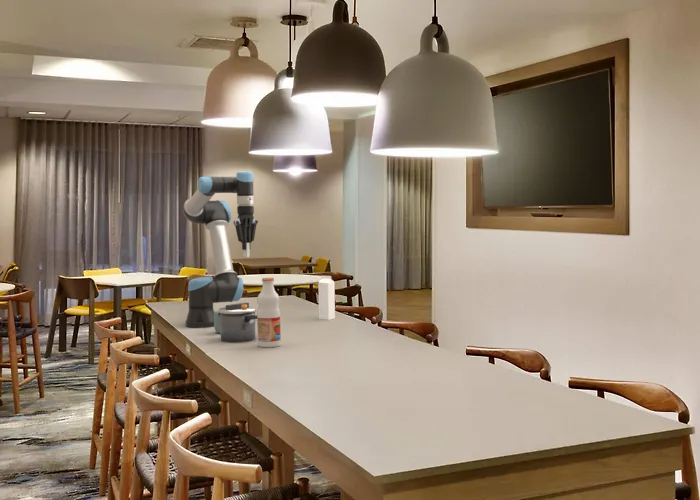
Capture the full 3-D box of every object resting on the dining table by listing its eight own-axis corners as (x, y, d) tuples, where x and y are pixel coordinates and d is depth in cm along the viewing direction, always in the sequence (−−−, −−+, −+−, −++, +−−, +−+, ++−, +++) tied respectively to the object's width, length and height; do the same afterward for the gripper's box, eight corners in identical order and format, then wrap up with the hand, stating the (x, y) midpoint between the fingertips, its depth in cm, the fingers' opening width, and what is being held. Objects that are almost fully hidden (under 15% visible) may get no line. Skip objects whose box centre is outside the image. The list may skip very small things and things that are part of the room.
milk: (325, 318, 393) (324, 275, 392) (335, 318, 390) (334, 275, 389) (318, 319, 388) (318, 276, 387) (328, 320, 385) (328, 276, 384)
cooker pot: (236, 334, 345) (235, 308, 344) (266, 339, 331) (266, 311, 331) (209, 339, 333) (208, 311, 333) (240, 344, 320) (239, 315, 319)
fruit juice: (257, 344, 320) (256, 277, 319) (280, 343, 322) (278, 276, 320) (257, 348, 311) (256, 279, 309) (281, 347, 312) (279, 278, 311)
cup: (227, 334, 346) (227, 312, 345) (211, 334, 347) (211, 312, 347) (233, 331, 353) (233, 310, 353) (217, 331, 355) (217, 309, 354)
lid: (239, 307, 343) (239, 300, 343) (263, 310, 332) (263, 303, 332) (211, 312, 331) (210, 304, 331) (235, 315, 320) (235, 307, 320)
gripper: (239, 205, 343) (241, 258, 344) (261, 205, 353) (262, 256, 354) (229, 205, 348) (230, 257, 349) (250, 205, 358) (251, 255, 359)
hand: (246, 256), depth 352 cm, fingers closed
